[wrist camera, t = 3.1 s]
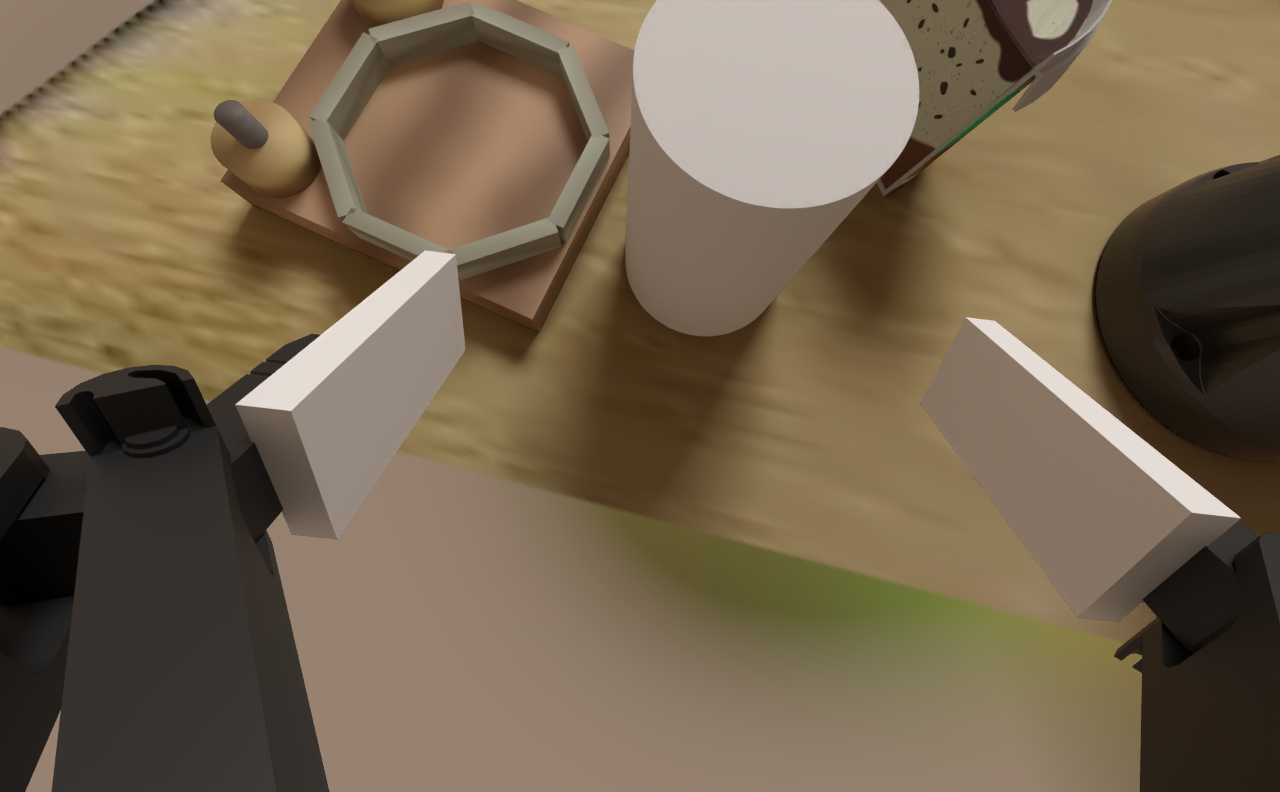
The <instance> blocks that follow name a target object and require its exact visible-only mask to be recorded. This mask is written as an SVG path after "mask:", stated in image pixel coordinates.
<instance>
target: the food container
mask: <svg viewBox="0 0 1280 792" xmlns="http://www.w3.org/2000/svg"><path fill="white" fill-rule="evenodd" d="M879 1H880V2H881V3H882V4H883V5H884V6H885V7H886V9H887V10H888V11H889V12H890V14H891V15H892V16H893V17H894V19H895V20H896V22H897V23H898V25H899V26H900V28H901V29H902V31H903V33H904V35H905V37H906V39H907V41H908V43H909V45H910V48H911V50H912V53H913V56H914V59H915V63H916V67H917V72H918V79H919V106H918V113H917V117H916V121H915V125H914V128H913V131H912V133H911V135H910V138H909V140H908V142H907V144H906V146H905V147H904V149H903V151H902V152H901V154H900V155H899V157H898V158H897V159H896V161H895V162H894V163H893V164H892V166H891V167H890V168H889V169H888V170H887V171H886V172H885V173H884V175H883V176H882V177H881V178H880V179H879V180H878V181H877V183H876V184H877V186H878V187H879V189H880V191H881V192H882V194H883V196H886V195H888V194H890V193H891V192H893V191H895V190H897V189H899V188H901V187H902V186H903V185H904V184H906V183H907V182H908V181H909V180H911V179H912V178H913V177H914V176H916V175H917V174H918V173H919V172H921V171H922V170H923V169H924V168H926V167H927V166H928V165H929V164H931V163H932V162H933V161H934V160H936V159H937V158H938V157H939V156H941V155H942V154H943V153H944V152H945V151H947V150H948V149H949V148H950V147H952V146H953V145H954V144H955V143H957V142H958V141H959V140H960V139H962V138H963V137H964V136H965V135H967V134H968V133H969V132H970V131H972V130H973V129H974V128H975V127H977V126H978V125H979V124H980V123H982V122H983V121H984V120H985V119H986V118H988V117H989V116H990V115H991V114H993V113H994V112H995V111H996V110H998V109H999V108H1000V107H1001V106H1003V105H1004V104H1005V103H1006V102H1008V101H1009V100H1010V99H1011V98H1013V97H1014V96H1015V95H1016V94H1018V93H1019V92H1020V91H1021V90H1023V89H1024V88H1025V87H1026V86H1027V85H1029V84H1030V83H1031V82H1032V81H1033V82H1032V83H1031V85H1030V86H1029V87H1028V89H1027V90H1026V91H1025V93H1024V94H1023V95H1022V97H1021V98H1020V100H1019V101H1018V102H1017V104H1016V105H1015V106H1014V108H1013V110H1014V111H1015V112H1016V111H1018V110H1019V109H1021V108H1023V107H1025V106H1027V105H1029V104H1030V103H1032V102H1034V101H1035V100H1037V99H1038V98H1039V97H1040V96H1042V95H1043V94H1044V93H1045V92H1047V91H1048V90H1049V89H1051V88H1052V86H1053V85H1054V84H1055V83H1056V82H1057V81H1058V79H1059V78H1060V77H1061V76H1062V75H1063V74H1064V73H1065V71H1066V70H1067V69H1068V67H1069V66H1070V65H1071V64H1072V62H1073V61H1074V60H1075V59H1076V57H1077V56H1078V55H1079V54H1080V52H1081V51H1082V50H1083V48H1084V47H1085V46H1086V45H1087V43H1088V42H1089V41H1090V40H1091V38H1092V37H1093V35H1094V33H1095V32H1096V30H1097V28H1098V26H1099V25H1100V23H1101V21H1102V19H1103V16H1104V14H1105V13H1106V11H1107V9H1108V7H1109V6H1110V4H1111V2H1112V0H879Z"/></svg>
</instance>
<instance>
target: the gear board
mask: <svg viewBox="0 0 1280 792" xmlns="http://www.w3.org/2000/svg"><path fill="white" fill-rule="evenodd" d="M633 59H634V50H631V49H629V48H627V47H624V46H622V45H620V44H617V43H615V42H613V41H610V40H608V39H606V38H603V37H601V36H599V35H596V34H594V33H592V32H589V31H587V30H585V29H582V28H580V27H578V26H575V25H573V24H571V23H568V22H566V21H564V20H561V19H559V18H557V17H554V16H552V15H550V14H547V13H545V12H542V11H540V10H538V9H535V8H533V7H531V6H528V5H526V4H524V3H521V2H519V1H517V0H341V1H340V3H339V4H338V6H337V7H336V9H335V10H334V12H333V13H332V15H331V16H330V18H329V19H328V21H327V22H326V24H325V25H324V27H323V28H322V30H321V31H320V33H319V34H318V36H317V37H316V39H315V40H314V42H313V43H312V45H311V46H310V47H309V49H308V50H307V52H306V53H305V55H304V56H303V58H302V59H301V61H300V62H299V64H298V65H297V67H296V68H295V70H294V71H293V73H292V74H291V76H290V77H289V79H288V80H287V82H286V83H285V85H284V86H283V88H282V89H281V91H280V92H279V94H278V95H277V97H276V98H275V100H274V101H273V102H269V101H264V100H251V101H246V102H242V103H239V102H237V101H234V100H227V101H224V102H222V103H220V104H219V105H218V106H217V107H216V109H215V111H214V118H215V120H216V121H217V122H216V123H215V125H214V128H213V130H212V134H211V147H212V150H213V153H214V155H215V157H216V158H217V160H218V161H219V162H220V163H221V164H222V165H223V166H224V167H226V168H227V169H228V170H227V172H226V173H225V175H224V176H223V178H222V179H221V182H223V183H224V184H225V185H227V186H228V187H229V188H231V189H232V190H233V191H235V192H236V193H237V194H239V195H240V196H241V197H243V198H244V199H245V200H247V201H248V202H249V203H251V204H252V205H254V206H256V207H259V208H261V209H263V210H265V211H268V212H270V213H272V214H274V215H277V216H279V217H281V218H283V219H286V220H288V221H290V222H292V223H295V224H297V225H299V226H301V227H304V228H306V229H308V230H310V231H313V232H315V233H317V234H319V235H322V236H324V237H326V238H328V239H331V240H333V241H335V242H337V243H340V244H342V245H344V246H346V247H349V248H351V249H353V250H355V251H358V252H360V253H362V254H364V255H367V256H369V257H371V258H373V259H376V260H378V261H380V262H382V263H385V264H387V265H389V266H391V267H394V268H396V269H398V270H402V269H403V268H404V267H405V266H407V265H408V264H409V263H410V262H412V261H413V260H414V259H415V258H416V257H418V256H419V255H420V254H421V253H423V252H424V251H434V252H442V253H450V254H456V260H457V270H458V280H459V290H460V297H461V298H463V299H466V300H468V301H470V302H472V303H475V304H477V305H479V306H481V307H484V308H486V309H488V310H491V311H493V312H495V313H497V314H500V315H502V316H504V317H506V318H509V319H511V320H513V321H515V322H518V323H520V324H522V325H524V326H527V327H529V328H531V329H533V330H536V331H538V332H539V331H540V329H541V327H542V325H543V323H544V322H545V320H546V318H547V316H548V314H549V312H550V310H551V308H552V306H553V304H554V302H555V300H556V298H557V296H558V294H559V292H560V290H561V288H562V286H563V284H564V282H565V280H566V278H567V276H568V274H569V272H570V270H571V268H572V266H573V264H574V262H575V260H576V258H577V256H578V254H579V252H580V250H581V248H582V246H583V244H584V242H585V240H586V238H587V236H588V234H589V232H590V230H591V228H592V226H593V224H594V222H595V220H596V218H597V216H598V214H599V212H600V210H601V208H602V206H603V204H604V202H605V200H606V198H607V196H608V194H609V192H610V190H611V188H612V186H613V184H614V182H615V180H616V178H617V176H618V174H619V172H620V170H621V168H622V166H623V164H624V162H625V160H626V158H627V156H628V154H629V151H630V127H631V102H632V78H633Z"/></svg>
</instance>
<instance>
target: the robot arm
mask: <svg viewBox="0 0 1280 792" xmlns="http://www.w3.org/2000/svg"><path fill="white" fill-rule="evenodd" d="M1096 305H1097V314H1098V320H1099V324H1100V329H1101V332H1102V336H1103V339H1104V342H1105V345H1106V347H1107V350H1108V352H1109V354H1110V357H1111V359H1112V361H1113V363H1114V365H1115V367H1116V369H1117V370H1118V372H1119V374H1120V375H1121V377H1122V378H1123V380H1124V382H1125V383H1126V384H1127V386H1128V387H1129V389H1130V390H1131V391H1132V392H1133V394H1134V395H1135V396H1136V397H1137V399H1138V400H1139V401H1140V402H1141V403H1142V404H1143V405H1144V406H1145V407H1146V408H1147V409H1148V410H1149V411H1150V412H1151V413H1152V414H1153V415H1154V416H1155V417H1156V418H1157V419H1159V420H1160V421H1161V422H1162V423H1163V424H1165V425H1166V426H1167V427H1169V428H1170V429H1171V430H1173V431H1174V432H1176V433H1177V434H1179V435H1180V436H1182V437H1184V438H1185V439H1187V440H1189V441H1191V442H1193V443H1195V444H1197V445H1199V446H1201V447H1203V448H1205V449H1208V450H1211V451H1213V452H1216V453H1219V454H1222V455H1226V456H1230V457H1234V458H1239V459H1246V460H1257V461H1270V460H1280V155H1278V156H1275V157H1272V158H1270V159H1267V160H1264V161H1262V162H1252V163H1243V164H1237V165H1232V166H1228V167H1224V168H1220V169H1216V170H1213V171H1210V172H1207V173H1205V174H1202V175H1199V176H1197V177H1194V178H1192V179H1190V180H1188V181H1186V182H1184V183H1182V184H1180V185H1178V186H1176V187H1174V188H1172V189H1170V190H1168V191H1167V192H1165V193H1163V194H1161V195H1159V196H1157V197H1155V198H1153V199H1151V200H1149V201H1148V202H1146V203H1144V204H1142V205H1141V206H1139V207H1138V208H1137V209H1135V210H1134V211H1133V212H1132V213H1130V214H1129V215H1128V216H1127V217H1126V218H1125V219H1124V220H1123V221H1122V222H1121V224H1120V225H1119V226H1118V227H1117V229H1116V230H1115V231H1114V233H1113V234H1112V236H1111V238H1110V240H1109V241H1108V243H1107V245H1106V248H1105V250H1104V252H1103V255H1102V258H1101V261H1100V265H1099V269H1098V275H1097V284H1096ZM465 350H466V349H465V339H464V329H463V319H462V309H461V299H460V290H459V280H458V270H457V260H456V254H450V253H442V252H434V251H424V252H423V253H421V254H420V255H419V256H418V257H416V258H415V259H414V260H413V261H412V262H410V263H409V264H408V265H407V266H405V267H404V268H403V269H402V270H400V271H399V272H398V273H397V274H396V275H394V276H393V277H392V278H391V279H389V280H388V281H387V282H386V283H384V284H383V285H382V286H381V287H380V288H378V289H377V290H376V291H375V292H373V293H372V294H371V295H370V296H368V297H367V298H366V299H365V300H363V301H362V302H361V303H360V304H359V305H357V306H356V307H355V308H354V309H352V310H351V311H350V312H349V313H347V314H346V315H345V316H344V317H343V318H341V319H340V320H339V321H338V322H336V323H335V324H334V325H333V326H331V327H330V328H329V329H328V330H327V331H325V332H324V333H323V334H322V335H317V334H310V335H308V336H305V337H303V338H301V339H298V340H296V341H293V342H291V343H289V344H286V345H284V346H283V347H282V348H280V349H279V350H278V351H277V352H275V353H274V354H273V355H271V356H270V357H269V358H267V359H266V362H262V363H261V364H259V365H258V366H257V367H256V368H254V369H253V370H252V371H251V374H250V375H248V374H246V375H245V376H244V377H242V378H241V379H240V380H238V381H237V382H236V383H234V384H233V385H232V386H231V387H229V388H228V389H227V390H225V391H224V392H223V393H221V394H220V395H219V396H217V397H216V398H215V399H213V400H212V401H211V402H210V403H208V404H207V405H206V403H205V401H204V399H203V397H202V395H201V392H200V390H199V388H198V386H197V384H196V382H195V380H194V378H193V377H192V375H191V374H190V373H189V371H188V370H185V369H182V368H179V367H176V366H165V365H148V366H139V367H131V368H126V369H122V370H118V371H114V372H110V373H106V374H103V375H100V376H98V377H95V378H93V379H90V380H88V381H85V382H83V383H80V384H79V385H77V386H76V387H74V388H73V389H71V390H70V391H68V392H66V393H65V394H64V395H63V396H62V397H61V398H60V400H59V401H58V403H57V404H56V406H55V407H56V408H57V410H58V411H59V413H60V414H61V416H62V417H63V419H64V420H65V421H66V423H67V424H68V426H69V427H70V429H71V430H72V431H73V433H74V434H75V436H76V437H77V439H78V440H79V441H80V443H81V444H82V446H83V447H84V449H85V450H86V451H78V452H68V453H57V454H46V455H39V454H38V453H37V452H36V450H35V449H34V448H33V446H32V445H31V444H30V443H29V441H28V440H27V439H26V438H25V436H24V435H23V434H22V433H21V432H20V431H17V430H12V429H8V428H3V427H1V428H0V792H25V791H26V788H27V786H28V784H29V782H30V779H31V777H32V774H33V772H34V770H35V768H36V765H37V763H38V761H39V758H40V756H41V754H42V751H43V749H44V747H45V745H46V742H47V740H48V738H49V735H50V733H51V731H52V728H53V726H54V724H55V722H56V719H57V717H58V715H59V712H60V710H61V715H60V723H59V732H58V741H57V750H56V758H55V767H54V776H53V786H52V792H329V789H328V784H327V780H326V775H325V771H324V767H323V762H322V758H321V754H320V749H319V745H318V740H317V736H316V732H315V727H314V723H313V719H312V714H311V710H310V706H309V702H308V697H307V693H306V688H305V684H304V679H303V675H302V671H301V666H300V662H299V658H298V654H297V649H296V645H295V640H294V637H293V632H292V627H291V623H290V619H289V614H288V610H287V606H286V601H285V597H284V592H283V588H282V584H281V579H280V575H279V571H278V567H277V562H276V558H275V553H274V549H273V545H272V542H271V539H270V537H269V535H268V533H267V531H266V529H267V528H268V527H269V526H270V525H271V523H272V522H273V521H274V520H275V519H276V517H277V516H278V515H279V514H280V513H281V511H282V513H283V515H284V518H285V520H286V522H287V525H288V527H289V529H290V532H291V534H292V535H299V536H308V537H317V538H328V539H336V540H337V539H338V538H339V536H340V535H341V533H342V532H343V530H344V529H345V527H346V526H347V524H348V523H349V522H350V520H351V518H352V517H353V516H354V514H355V513H356V511H357V510H358V508H359V507H360V505H361V504H362V502H363V501H364V499H365V498H366V496H367V495H368V493H369V492H370V490H371V489H372V488H373V486H374V485H375V483H376V482H377V480H378V478H379V477H380V475H381V474H382V473H383V471H384V470H385V468H386V467H387V465H388V464H389V462H390V461H391V459H392V458H393V456H394V455H395V454H396V452H397V451H398V449H399V448H400V446H401V445H402V443H403V442H404V440H405V439H406V437H407V436H408V434H409V433H410V431H411V430H412V428H413V427H414V425H415V424H416V423H417V421H418V420H419V418H420V417H421V415H422V414H423V412H424V411H425V409H426V408H427V406H428V405H429V403H430V402H431V400H432V399H433V397H434V396H435V394H436V393H437V392H438V390H439V389H440V387H441V386H442V384H443V383H444V381H445V380H446V378H447V377H448V375H449V374H450V372H451V371H452V369H453V368H454V366H455V365H456V363H457V362H458V360H459V359H460V358H461V356H462V355H463V353H464V352H465ZM920 405H921V406H922V407H923V409H924V410H925V411H926V413H927V414H928V415H929V417H930V418H931V420H932V421H933V422H934V424H935V425H936V426H937V428H938V429H939V430H940V432H941V433H942V435H943V436H944V437H945V439H946V440H947V441H948V443H949V444H950V445H951V447H952V448H953V449H954V451H955V452H956V454H957V455H958V456H959V458H960V459H961V460H962V462H963V463H964V464H965V466H966V467H967V468H968V470H969V471H970V473H971V474H972V475H973V477H974V478H975V479H976V481H977V482H978V483H979V485H980V486H981V487H982V489H983V490H984V492H985V493H986V494H987V496H988V497H989V498H990V500H991V501H992V502H993V504H994V505H995V506H996V508H997V509H998V511H999V512H1000V513H1001V515H1002V516H1003V517H1004V519H1005V520H1006V521H1007V523H1008V524H1009V525H1010V527H1011V528H1012V530H1013V531H1014V532H1015V534H1016V535H1017V536H1018V538H1019V539H1020V540H1021V542H1022V543H1023V544H1024V546H1025V547H1026V549H1027V550H1028V551H1029V553H1030V554H1031V555H1032V557H1033V558H1034V559H1035V561H1036V562H1037V563H1038V565H1039V566H1040V568H1041V569H1042V570H1043V572H1044V573H1045V574H1046V576H1047V577H1048V578H1049V580H1050V581H1051V582H1052V584H1053V585H1054V587H1055V588H1056V589H1057V591H1058V592H1059V593H1060V595H1061V596H1062V597H1063V599H1064V600H1065V601H1066V603H1067V604H1068V606H1069V607H1070V608H1071V610H1072V611H1073V612H1074V614H1075V615H1076V616H1077V618H1087V619H1096V620H1106V621H1115V622H1119V621H1120V620H1121V619H1122V618H1124V617H1125V616H1126V615H1127V614H1128V613H1130V612H1131V611H1132V610H1133V609H1134V608H1135V607H1137V606H1138V605H1139V604H1140V603H1141V602H1143V601H1144V602H1145V603H1146V604H1147V605H1148V607H1149V608H1150V609H1151V610H1152V611H1153V612H1154V613H1155V614H1156V616H1157V618H1156V619H1155V620H1153V621H1152V622H1151V623H1150V624H1148V625H1147V626H1146V627H1145V628H1143V629H1142V630H1141V631H1140V632H1138V633H1137V634H1136V635H1135V636H1133V637H1132V638H1131V639H1130V640H1128V641H1127V642H1126V643H1125V644H1123V645H1122V646H1121V647H1120V648H1118V649H1117V651H1116V653H1115V655H1114V657H1116V658H1118V659H1120V660H1123V659H1124V658H1125V657H1127V656H1128V655H1129V654H1133V653H1137V654H1140V655H1142V659H1141V660H1140V661H1139V662H1137V663H1136V664H1135V665H1133V668H1135V669H1137V670H1138V671H1140V672H1141V673H1142V706H1141V762H1140V792H1280V534H1276V533H1267V534H1262V535H1260V536H1257V535H1256V534H1255V533H1254V532H1252V531H1251V530H1250V529H1249V528H1247V527H1246V526H1245V525H1244V524H1242V523H1241V522H1240V521H1239V520H1240V519H1241V518H1240V517H1239V516H1238V515H1237V514H1235V513H1234V512H1233V511H1232V510H1230V509H1229V508H1228V507H1227V506H1225V505H1224V504H1223V503H1222V502H1220V501H1219V500H1218V499H1217V498H1215V497H1214V496H1213V495H1212V494H1210V493H1209V492H1208V491H1207V490H1205V489H1204V488H1203V487H1202V486H1200V485H1199V484H1198V483H1197V482H1195V481H1194V480H1193V479H1192V478H1190V477H1189V476H1188V475H1187V474H1185V473H1184V472H1183V471H1182V470H1180V469H1179V468H1178V467H1177V466H1175V465H1174V464H1173V463H1172V462H1170V461H1169V460H1168V459H1167V458H1165V457H1164V456H1163V455H1162V454H1160V453H1159V452H1158V451H1157V450H1155V449H1154V448H1153V447H1152V446H1150V445H1149V444H1148V443H1147V442H1145V441H1144V440H1143V439H1142V438H1140V437H1139V436H1138V435H1137V434H1135V433H1134V432H1133V431H1132V430H1130V429H1129V428H1128V427H1127V426H1125V425H1124V424H1123V423H1122V422H1120V421H1119V420H1118V419H1117V418H1115V417H1114V416H1113V415H1112V414H1110V413H1109V412H1108V411H1107V410H1105V409H1104V408H1103V407H1102V406H1100V405H1099V404H1098V403H1097V402H1095V401H1094V400H1093V399H1092V398H1090V397H1089V396H1088V395H1087V394H1085V393H1084V392H1083V391H1082V390H1080V389H1079V388H1078V387H1077V386H1075V385H1074V384H1073V383H1072V382H1070V381H1069V380H1068V379H1067V378H1065V377H1064V376H1063V375H1062V374H1060V373H1059V372H1058V371H1057V370H1055V369H1054V368H1053V367H1052V366H1050V365H1049V364H1048V363H1047V362H1045V361H1044V360H1043V359H1042V358H1040V357H1039V356H1038V355H1037V354H1035V353H1034V352H1033V351H1032V350H1030V349H1029V348H1028V347H1027V346H1025V345H1024V344H1023V343H1022V342H1020V341H1019V340H1018V339H1017V338H1015V337H1014V336H1013V335H1012V334H1010V333H1009V332H1008V331H1007V330H1005V329H1004V328H1003V327H1002V326H1000V325H999V324H998V323H997V322H995V321H991V320H983V319H975V318H967V317H966V318H965V320H964V322H963V324H962V326H961V328H960V329H959V331H958V333H957V335H956V337H955V339H954V341H953V342H952V344H951V346H950V348H949V350H948V352H947V354H946V356H945V357H944V359H943V361H942V363H941V365H940V367H939V369H938V370H937V372H936V374H935V376H934V378H933V380H932V382H931V383H930V385H929V387H928V389H927V391H926V393H925V395H924V397H923V398H922V400H921V402H920Z"/></svg>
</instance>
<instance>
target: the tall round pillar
mask: <svg viewBox="0 0 1280 792" xmlns="http://www.w3.org/2000/svg"><path fill="white" fill-rule="evenodd" d="M918 106H919V79H918V72H917V67H916V63H915V59H914V56H913V53H912V50H911V48H910V45H909V43H908V41H907V39H906V37H905V35H904V33H903V31H902V29H901V28H900V26H899V25H898V23H897V22H896V20H895V19H894V17H893V16H892V15H891V14H890V12H889V11H888V10H887V9H886V7H885V6H884V5H883V4H882V3H881V2H880V1H879V0H657V1H656V3H655V4H654V5H653V7H652V8H651V10H650V11H649V13H648V15H647V17H646V18H645V20H644V22H643V25H642V27H641V29H640V32H639V35H638V38H637V42H636V46H635V51H634V59H633V78H632V102H631V127H630V151H629V175H628V200H627V224H626V249H625V267H626V273H627V278H628V281H629V284H630V287H631V289H632V291H633V293H634V295H635V297H636V298H637V300H638V301H639V303H640V304H641V305H642V307H643V308H644V309H645V310H646V311H647V312H648V313H649V314H650V315H651V316H652V317H653V318H655V319H656V320H657V321H659V322H660V323H662V324H663V325H665V326H667V327H669V328H671V329H673V330H675V331H678V332H681V333H684V334H688V335H694V336H718V335H724V334H728V333H731V332H734V331H736V330H739V329H741V328H743V327H745V326H746V325H748V324H750V323H751V322H752V321H754V320H755V319H756V318H757V317H758V316H759V315H760V314H761V313H762V312H763V311H764V310H765V309H766V308H767V307H768V306H769V304H770V303H771V302H772V301H773V300H774V299H775V298H776V296H777V295H778V294H779V293H780V292H781V291H782V290H783V288H784V287H785V286H786V285H787V284H788V283H789V282H790V281H791V279H792V278H793V277H794V276H795V275H796V274H797V273H798V271H799V270H800V269H801V268H802V267H803V266H804V265H805V263H806V262H807V261H808V260H809V259H810V258H811V257H812V255H813V254H814V253H815V252H816V251H817V250H818V249H819V247H820V246H821V245H822V244H823V243H824V242H825V241H826V240H827V238H828V237H829V236H830V235H831V234H832V233H833V232H834V230H835V229H836V228H837V227H838V226H839V225H840V224H841V222H842V221H843V220H844V219H845V218H846V217H847V216H848V214H849V213H850V212H851V211H852V210H853V209H854V208H855V207H856V205H857V204H858V203H859V202H860V201H861V200H862V199H863V197H864V196H865V195H866V194H867V193H868V192H869V191H870V189H871V188H872V187H873V186H874V185H875V184H876V183H877V181H878V180H879V179H880V178H881V177H882V176H883V175H884V173H885V172H886V171H887V170H888V169H889V168H890V167H891V166H892V164H893V163H894V162H895V161H896V159H897V158H898V157H899V155H900V154H901V152H902V151H903V149H904V147H905V146H906V144H907V142H908V140H909V138H910V135H911V133H912V131H913V128H914V125H915V121H916V117H917V113H918Z"/></svg>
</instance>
